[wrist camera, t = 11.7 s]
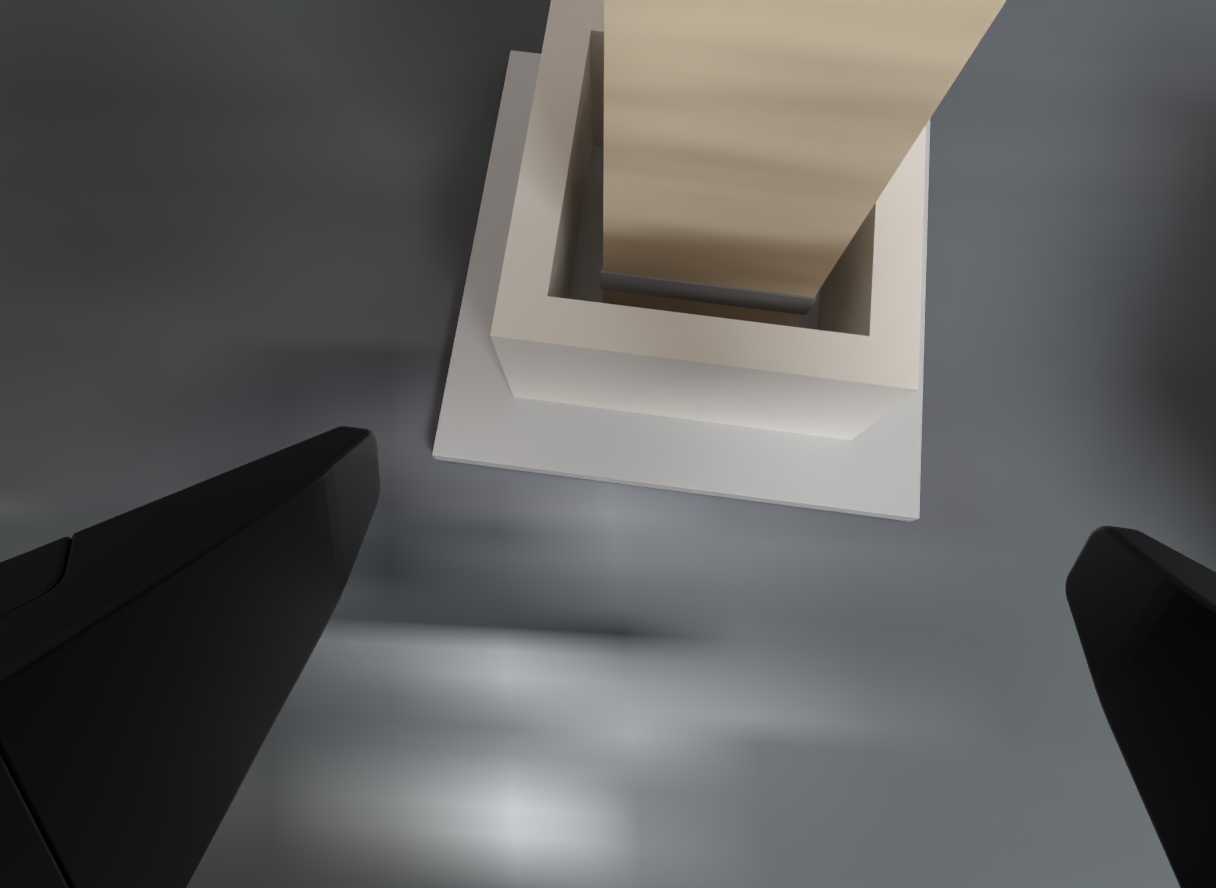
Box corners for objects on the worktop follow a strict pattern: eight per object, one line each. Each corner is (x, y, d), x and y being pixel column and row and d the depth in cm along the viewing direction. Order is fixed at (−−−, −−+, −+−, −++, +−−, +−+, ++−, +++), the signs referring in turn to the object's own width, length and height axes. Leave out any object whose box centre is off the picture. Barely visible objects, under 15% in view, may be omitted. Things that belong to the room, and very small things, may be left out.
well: (910, 521, 18) (1008, 488, 14) (436, 459, 18) (385, 408, 14) (923, 111, 21) (1007, -23, 17) (513, 63, 21) (490, -81, 17)
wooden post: (778, 357, 19) (1014, 0, 8) (600, 334, 19) (599, -48, 8) (791, 199, 20) (1013, -300, 9) (623, 178, 20) (649, -339, 9)
